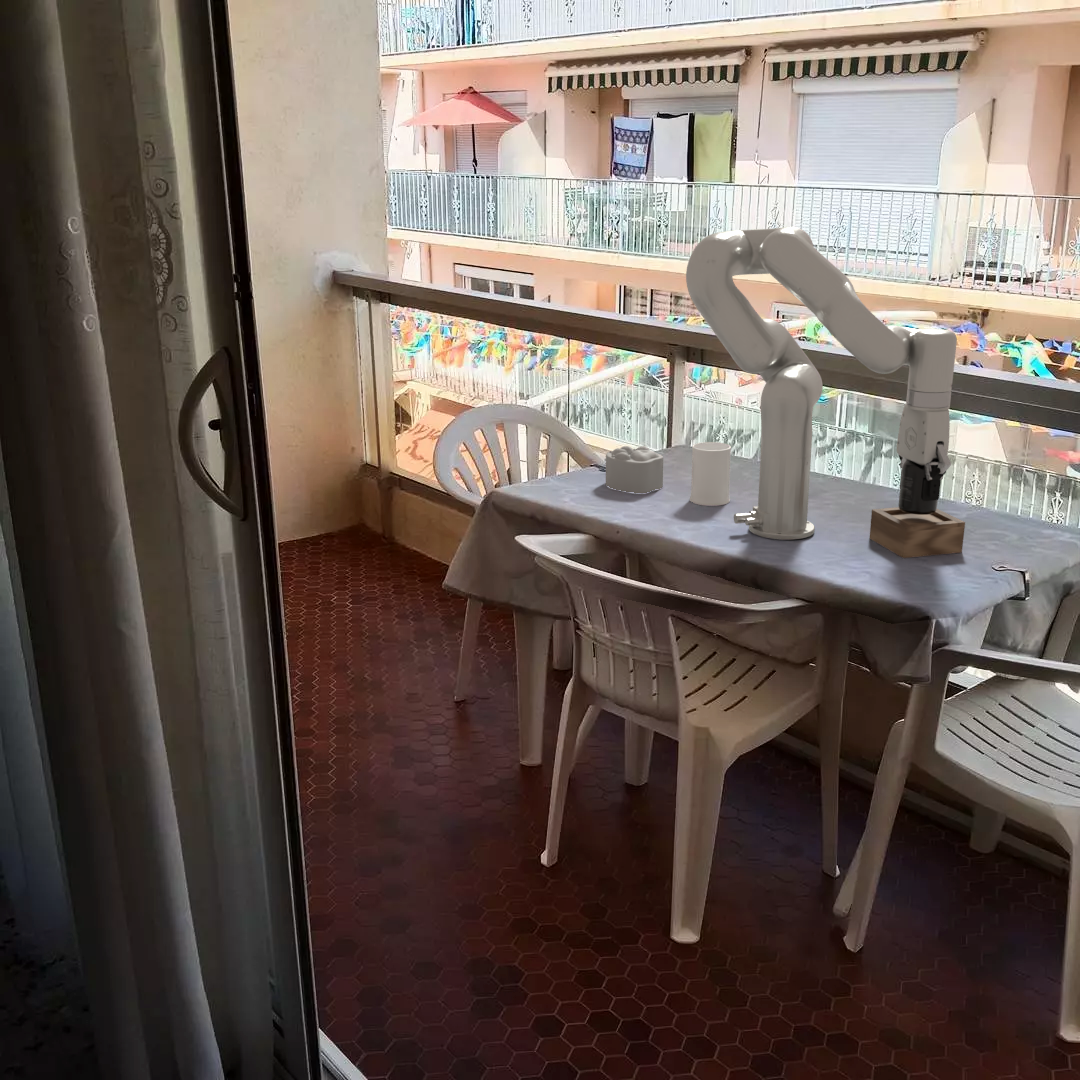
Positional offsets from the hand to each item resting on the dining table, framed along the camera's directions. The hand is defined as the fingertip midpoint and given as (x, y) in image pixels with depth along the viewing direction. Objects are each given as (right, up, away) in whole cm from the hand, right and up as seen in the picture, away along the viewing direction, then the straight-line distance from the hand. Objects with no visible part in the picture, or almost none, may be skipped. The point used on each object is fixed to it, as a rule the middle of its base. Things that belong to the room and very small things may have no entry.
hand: (918, 494), depth 205 cm
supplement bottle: (0, -3, +1) cm, 3 cm away
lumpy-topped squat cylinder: (-49, +3, +46) cm, 67 cm away
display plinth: (0, -10, +3) cm, 10 cm away
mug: (-33, 0, +35) cm, 48 cm away
